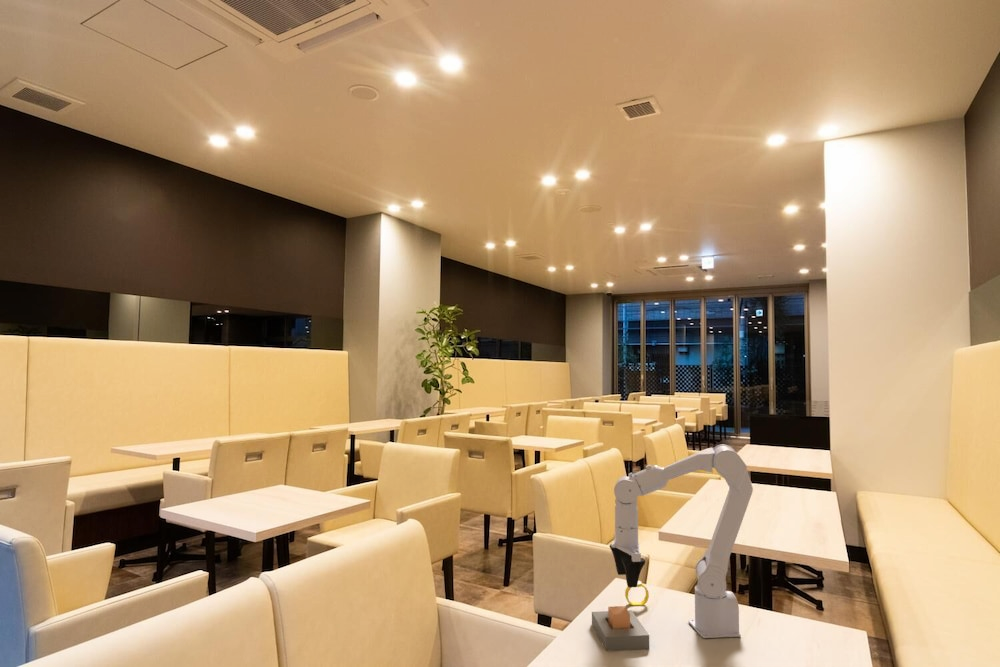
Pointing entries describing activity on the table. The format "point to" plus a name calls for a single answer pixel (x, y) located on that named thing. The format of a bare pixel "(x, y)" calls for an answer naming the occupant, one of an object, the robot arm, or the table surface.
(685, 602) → the table surface
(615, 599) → the table surface
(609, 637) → the socket block
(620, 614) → the plug
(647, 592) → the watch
